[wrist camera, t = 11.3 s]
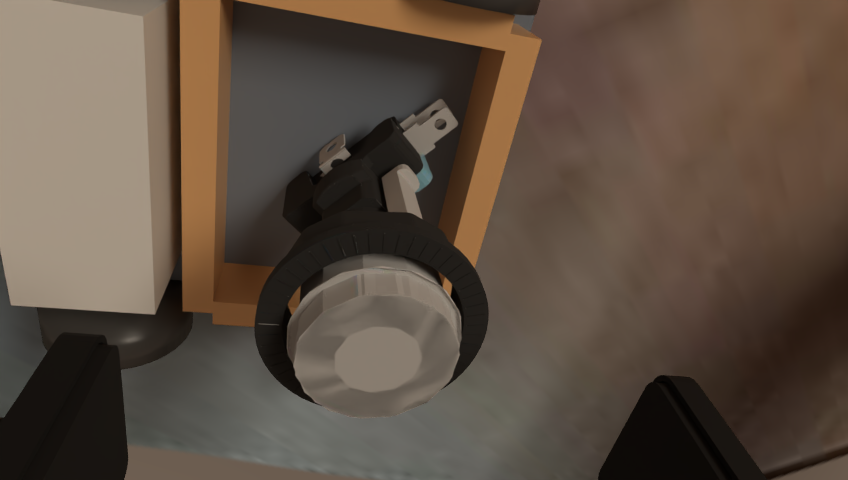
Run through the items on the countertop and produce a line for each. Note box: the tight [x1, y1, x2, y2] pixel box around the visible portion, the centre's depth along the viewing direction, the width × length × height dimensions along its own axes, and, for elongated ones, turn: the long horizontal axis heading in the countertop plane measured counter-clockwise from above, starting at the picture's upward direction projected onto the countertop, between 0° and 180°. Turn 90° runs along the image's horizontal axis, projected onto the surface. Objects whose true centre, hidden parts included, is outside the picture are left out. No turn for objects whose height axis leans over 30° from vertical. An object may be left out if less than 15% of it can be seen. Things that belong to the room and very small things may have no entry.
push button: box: [254, 99, 488, 418], centre depth 16 cm, size 7×5×10 cm
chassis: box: [0, 0, 542, 369], centre depth 18 cm, size 16×15×6 cm
